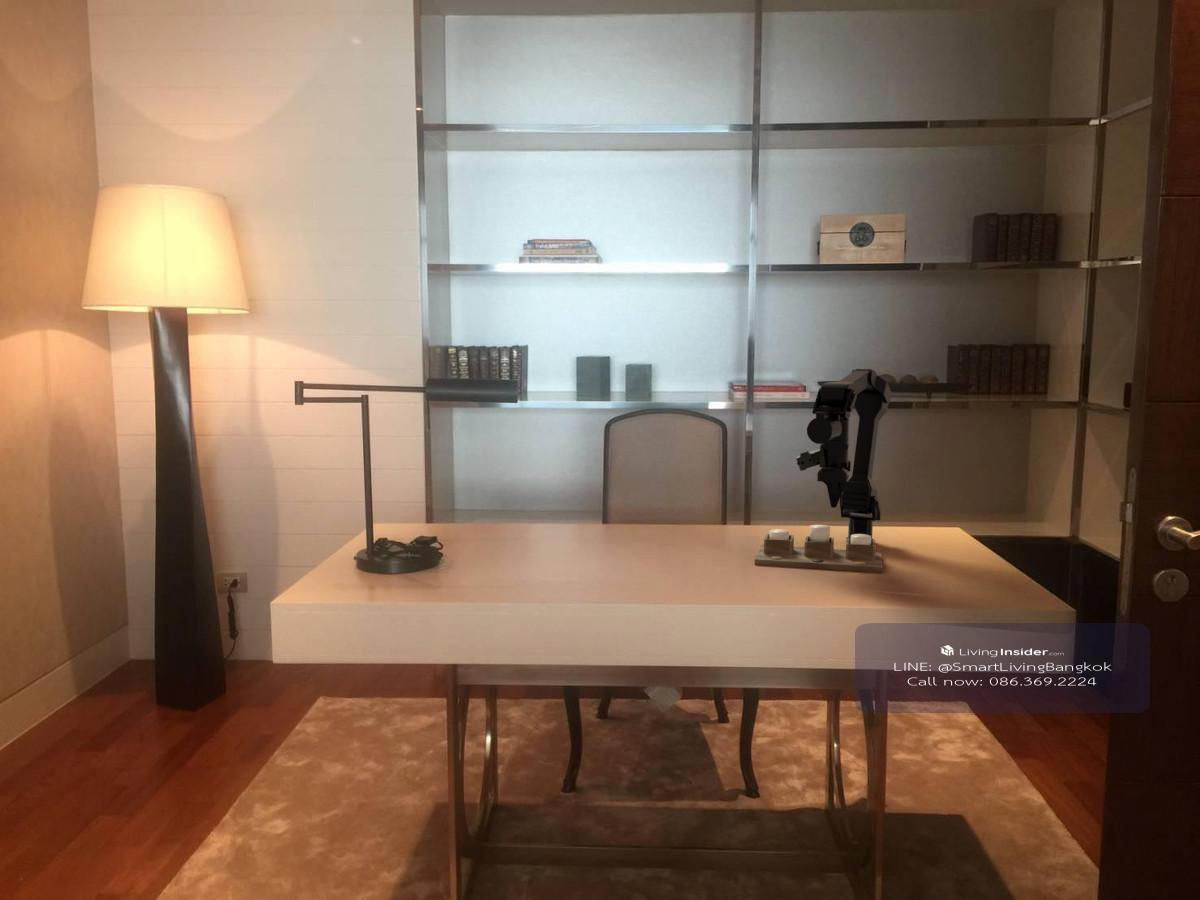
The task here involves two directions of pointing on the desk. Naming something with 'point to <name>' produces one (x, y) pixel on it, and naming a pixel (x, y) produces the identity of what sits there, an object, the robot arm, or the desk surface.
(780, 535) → the button
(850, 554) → the board
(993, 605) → the desk surface
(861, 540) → the button
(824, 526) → the button
